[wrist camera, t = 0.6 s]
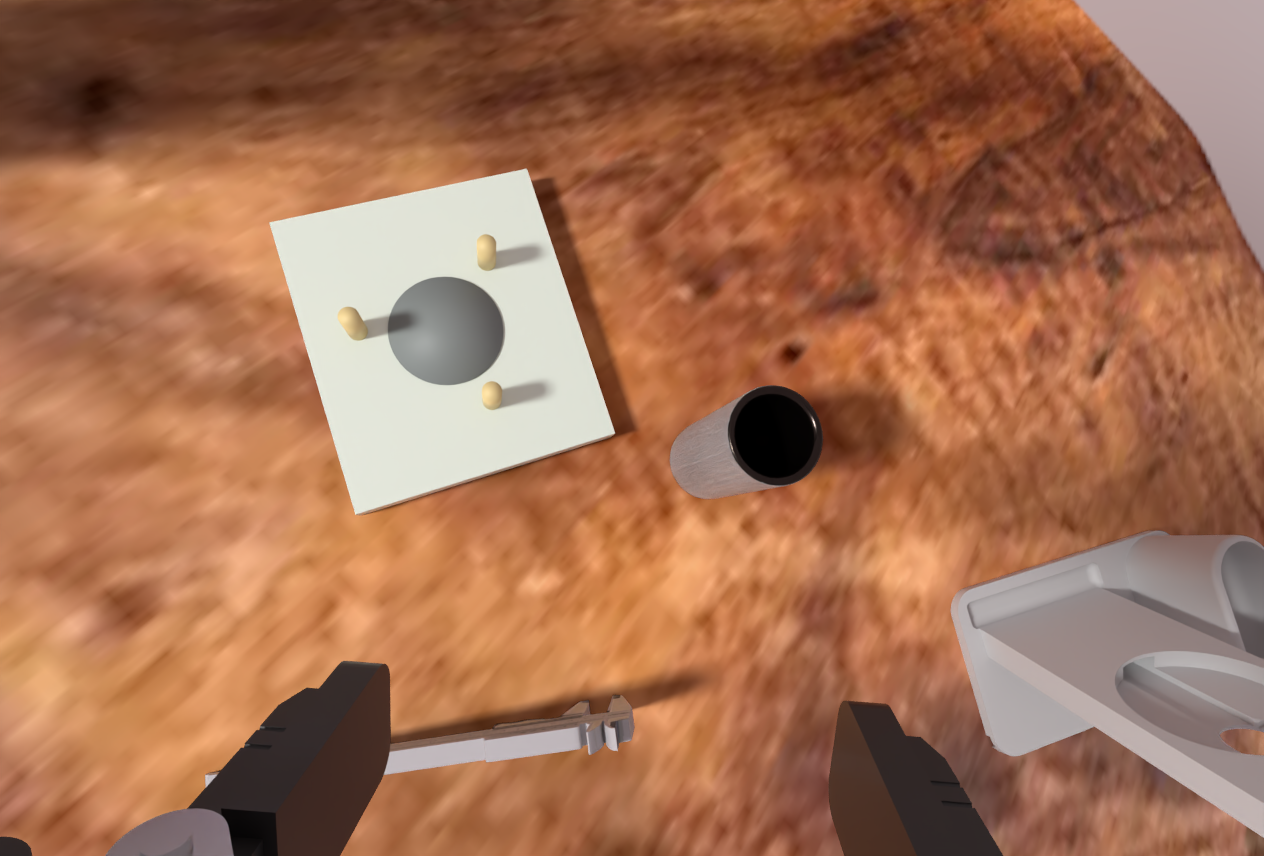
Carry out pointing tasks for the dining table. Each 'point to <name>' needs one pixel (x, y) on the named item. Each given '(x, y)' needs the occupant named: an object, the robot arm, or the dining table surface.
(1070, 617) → the phone holder
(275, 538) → the dining table surface
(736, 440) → the grey metal tumbler
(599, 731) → the caliper
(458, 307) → the board
